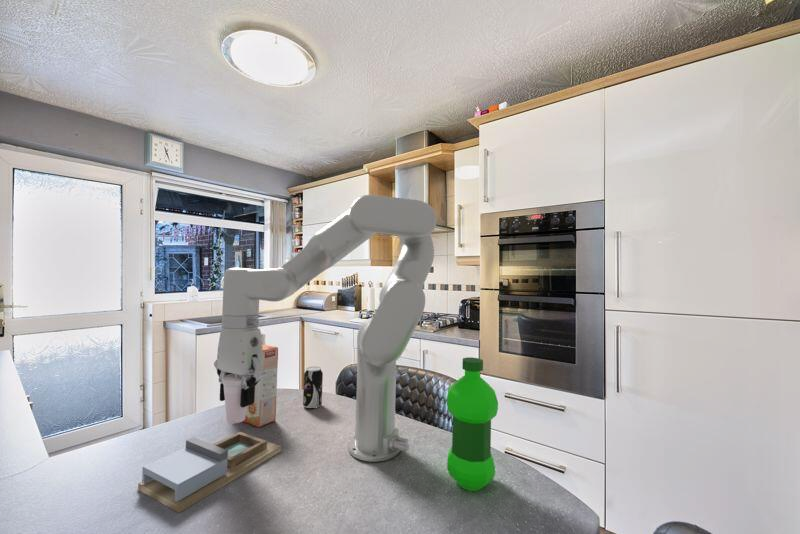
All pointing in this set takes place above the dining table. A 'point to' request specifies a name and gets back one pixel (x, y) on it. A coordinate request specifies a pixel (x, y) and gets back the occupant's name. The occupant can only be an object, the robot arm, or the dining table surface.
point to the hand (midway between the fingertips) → (236, 401)
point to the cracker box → (265, 391)
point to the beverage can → (312, 387)
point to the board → (241, 459)
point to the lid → (188, 467)
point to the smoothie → (233, 398)
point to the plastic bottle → (471, 427)
